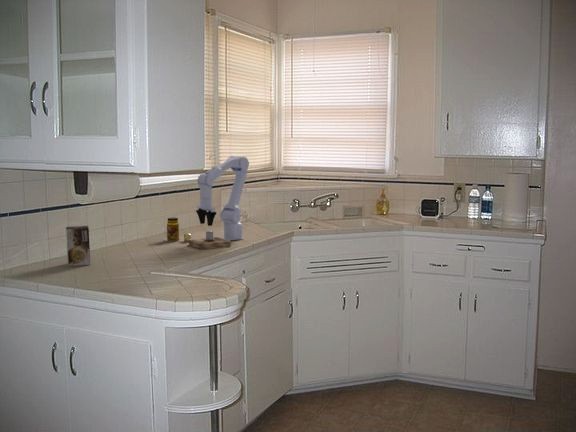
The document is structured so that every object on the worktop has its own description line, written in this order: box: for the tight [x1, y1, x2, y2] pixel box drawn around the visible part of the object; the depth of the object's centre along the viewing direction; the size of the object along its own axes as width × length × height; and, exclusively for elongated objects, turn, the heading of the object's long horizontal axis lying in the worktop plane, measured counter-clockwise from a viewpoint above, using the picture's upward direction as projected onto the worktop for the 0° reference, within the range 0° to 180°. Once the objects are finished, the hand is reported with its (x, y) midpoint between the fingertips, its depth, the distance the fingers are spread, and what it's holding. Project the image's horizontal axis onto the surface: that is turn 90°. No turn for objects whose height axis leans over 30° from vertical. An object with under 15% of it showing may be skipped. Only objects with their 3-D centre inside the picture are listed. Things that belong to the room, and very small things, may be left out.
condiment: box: [163, 216, 182, 243], centre depth 334 cm, size 7×8×12 cm
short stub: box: [183, 233, 192, 243], centre depth 332 cm, size 4×4×4 cm
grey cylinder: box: [205, 230, 214, 242], centre depth 321 cm, size 4×4×7 cm
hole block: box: [188, 236, 232, 250], centre depth 322 cm, size 16×14×2 cm
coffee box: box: [65, 225, 91, 267], centre depth 275 cm, size 9×6×16 cm
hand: (206, 224), depth 325 cm, fingers open, 7 cm apart
